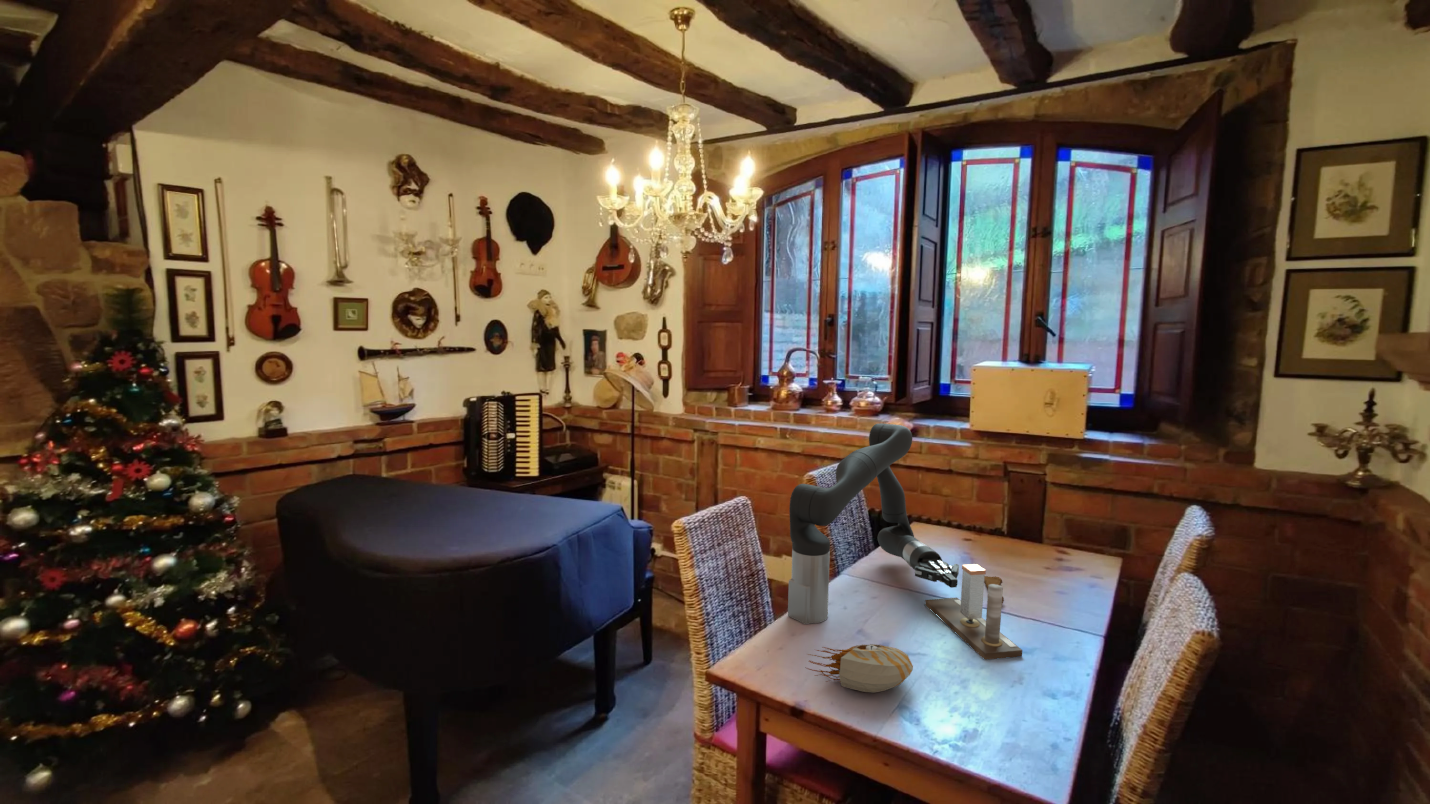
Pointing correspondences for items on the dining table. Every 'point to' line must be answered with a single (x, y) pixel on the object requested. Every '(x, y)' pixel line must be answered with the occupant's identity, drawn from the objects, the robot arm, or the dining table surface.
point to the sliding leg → (972, 591)
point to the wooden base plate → (978, 625)
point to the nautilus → (868, 667)
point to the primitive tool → (992, 582)
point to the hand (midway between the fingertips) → (954, 583)
